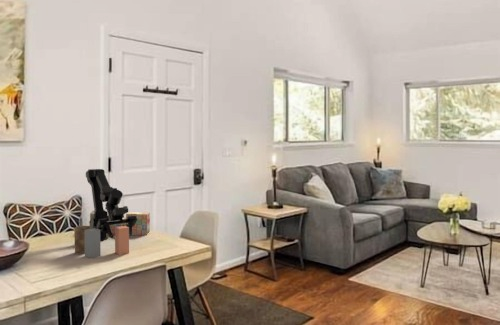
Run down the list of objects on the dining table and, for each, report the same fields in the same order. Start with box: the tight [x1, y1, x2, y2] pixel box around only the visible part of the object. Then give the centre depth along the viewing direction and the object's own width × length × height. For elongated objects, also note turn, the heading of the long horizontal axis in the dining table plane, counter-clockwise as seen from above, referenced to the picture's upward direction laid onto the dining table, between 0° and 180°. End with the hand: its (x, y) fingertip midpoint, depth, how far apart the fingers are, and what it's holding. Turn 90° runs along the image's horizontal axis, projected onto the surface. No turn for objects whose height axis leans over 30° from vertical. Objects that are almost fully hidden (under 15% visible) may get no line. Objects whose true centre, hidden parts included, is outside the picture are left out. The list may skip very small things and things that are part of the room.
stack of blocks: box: [110, 211, 151, 236], centre depth 252 cm, size 21×6×12 cm, turn 89°
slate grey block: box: [84, 228, 102, 259], centre depth 203 cm, size 5×5×12 cm
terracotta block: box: [114, 226, 130, 256], centre depth 209 cm, size 5×5×12 cm
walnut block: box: [74, 225, 90, 255], centre depth 210 cm, size 5×5×12 cm
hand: (121, 236), depth 209 cm, fingers open, 9 cm apart
